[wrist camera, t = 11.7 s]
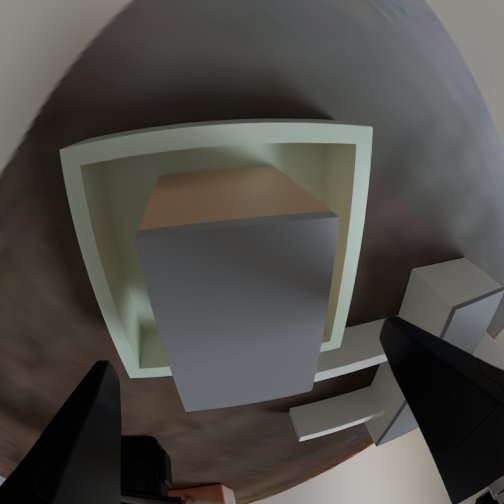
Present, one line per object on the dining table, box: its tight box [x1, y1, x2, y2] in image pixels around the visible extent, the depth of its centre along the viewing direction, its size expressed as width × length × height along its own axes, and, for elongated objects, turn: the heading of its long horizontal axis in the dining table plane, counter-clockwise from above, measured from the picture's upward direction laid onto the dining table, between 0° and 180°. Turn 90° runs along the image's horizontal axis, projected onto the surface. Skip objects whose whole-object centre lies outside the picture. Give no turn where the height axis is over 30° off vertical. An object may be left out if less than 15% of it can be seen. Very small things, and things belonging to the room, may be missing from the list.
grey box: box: [135, 166, 339, 412], centre depth 13 cm, size 6×8×7 cm
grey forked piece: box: [289, 258, 504, 446], centre depth 22 cm, size 16×20×5 cm
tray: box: [60, 118, 373, 378], centre depth 14 cm, size 13×13×4 cm
